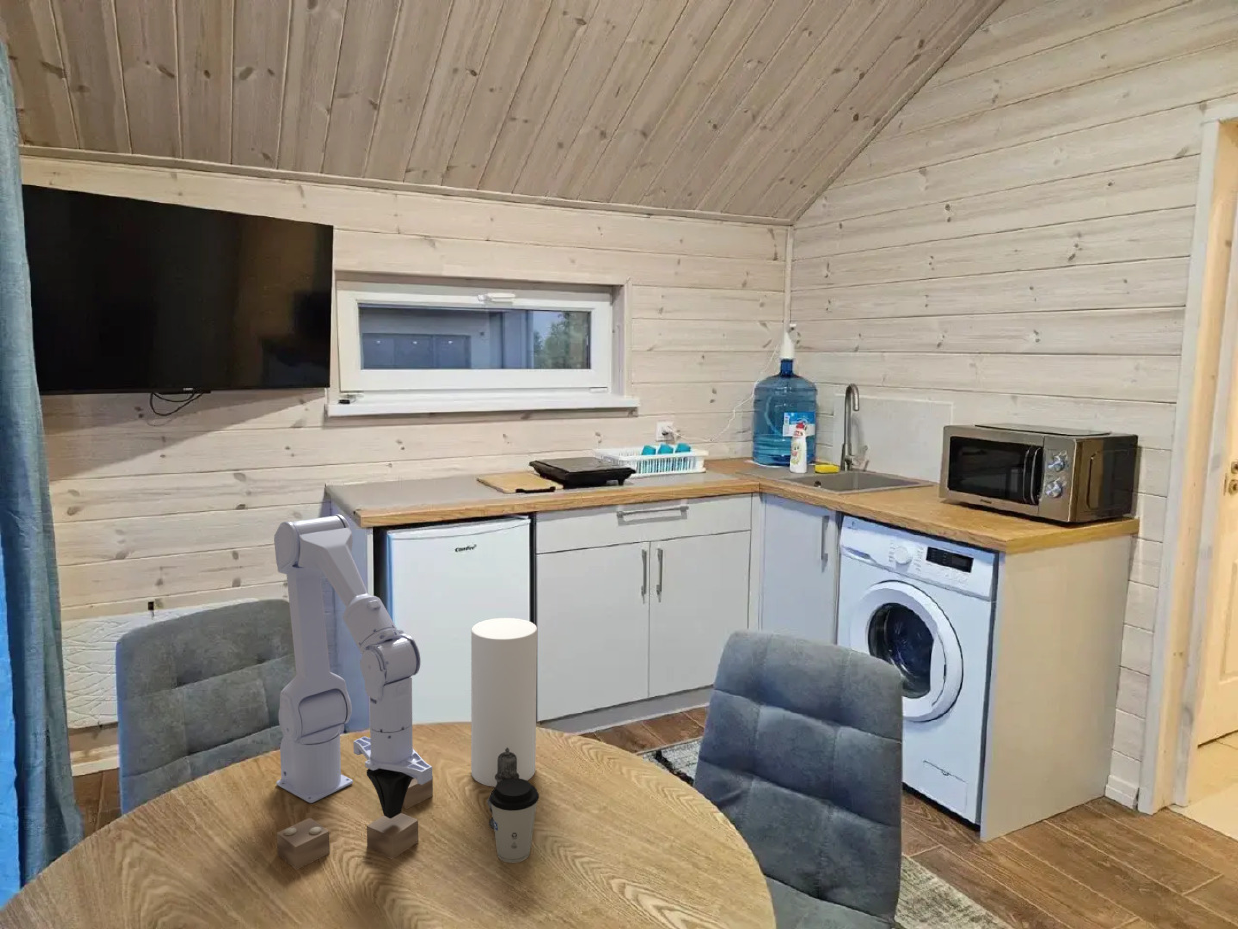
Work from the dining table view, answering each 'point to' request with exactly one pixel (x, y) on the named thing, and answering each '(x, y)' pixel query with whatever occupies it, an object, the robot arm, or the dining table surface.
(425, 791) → the three-dot block
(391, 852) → the plain block
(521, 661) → the tall pillar cylinder
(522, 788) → the coffee cup
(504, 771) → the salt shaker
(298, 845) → the two-dot block
